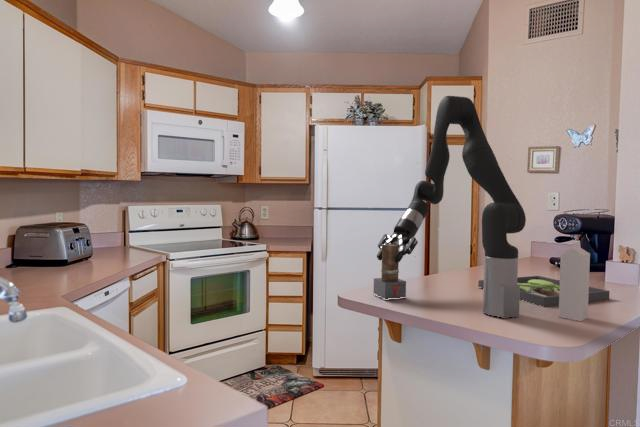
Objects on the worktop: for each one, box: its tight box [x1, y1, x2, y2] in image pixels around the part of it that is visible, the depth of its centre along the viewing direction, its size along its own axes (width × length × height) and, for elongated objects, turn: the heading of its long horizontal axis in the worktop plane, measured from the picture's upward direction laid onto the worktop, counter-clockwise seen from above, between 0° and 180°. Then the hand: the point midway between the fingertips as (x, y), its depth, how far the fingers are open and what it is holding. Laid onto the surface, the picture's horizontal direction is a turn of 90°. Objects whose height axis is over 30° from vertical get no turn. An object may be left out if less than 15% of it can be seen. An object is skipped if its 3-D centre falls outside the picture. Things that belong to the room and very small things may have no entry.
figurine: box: [517, 279, 560, 294], centre depth 161 cm, size 18×27×6 cm
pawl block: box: [373, 277, 407, 299], centre depth 153 cm, size 8×8×6 cm
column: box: [380, 243, 400, 281], centre depth 153 cm, size 4×4×12 cm
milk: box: [558, 241, 591, 322], centre depth 130 cm, size 6×6×22 cm
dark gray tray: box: [477, 275, 610, 307], centre depth 161 cm, size 30×30×3 cm
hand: (387, 260), depth 152 cm, fingers open, 7 cm apart
